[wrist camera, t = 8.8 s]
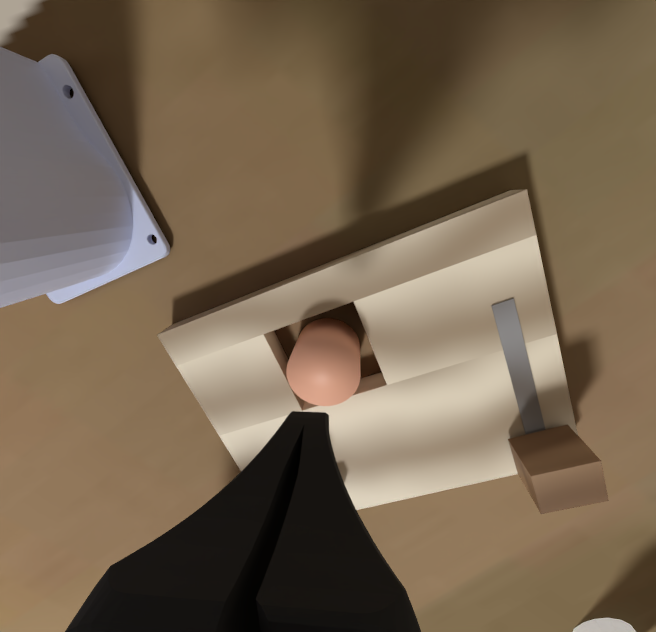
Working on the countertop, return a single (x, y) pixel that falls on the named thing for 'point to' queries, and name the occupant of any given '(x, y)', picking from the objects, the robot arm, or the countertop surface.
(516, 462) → the walnut slider
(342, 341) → the terracotta button
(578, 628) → the beverage cup
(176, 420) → the countertop surface
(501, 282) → the control panel
